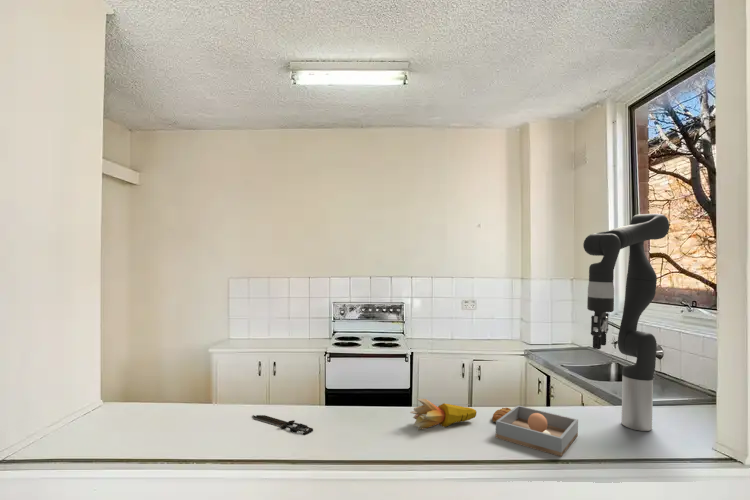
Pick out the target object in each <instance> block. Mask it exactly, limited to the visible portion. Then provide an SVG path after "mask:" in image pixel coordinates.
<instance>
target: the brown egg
mask: <svg viewBox="0 0 750 500" xmlns="http://www.w3.org/2000/svg"><path fill="white" fill-rule="evenodd" d="M528 425H529V427H530V429H531V430H535V431H538V432H544V431H545V430H546V428H547V420H546V418H545V417H544V416H543V415H542V414H539V413H533V414H531V415H530V416H529V418H528Z"/></svg>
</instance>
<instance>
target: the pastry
mask: <svg viewBox="0 0 750 500" xmlns="http://www.w3.org/2000/svg"><path fill="white" fill-rule="evenodd" d="M511 410H512V409H511V408H510V407H502V408H500V409H497V410H495V412H494V413H493V414H492V422H493V423H496V421H497V420H498V419H500V418H501V417H502V416H504V415H505V414H507V413H508V412H509V411H511Z"/></svg>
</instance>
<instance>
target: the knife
mask: <svg viewBox="0 0 750 500" xmlns="http://www.w3.org/2000/svg"><path fill="white" fill-rule="evenodd" d="M251 416H252V418H253V420H255V421H260V422H264V423H266V424H270V425H273V426H276V427H278V428H279V427H280V430H281V431H282V430H284V429H285V430H286V429H289V432H292V433H295V434H298V432H300V433H301V432H302V435H303V436H306V435H308V434H310V433H313V431H314V428H313V427H309V426H308V425H307V424H303V423H298V422H296V421H295V420H294V419H293V420H288V421H285V420H282V419H279V418H276V417H272V416H268V415H266V414H264V415H263V414H255V415H254V414H253V415H251ZM293 425H296V426H293Z"/></svg>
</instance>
